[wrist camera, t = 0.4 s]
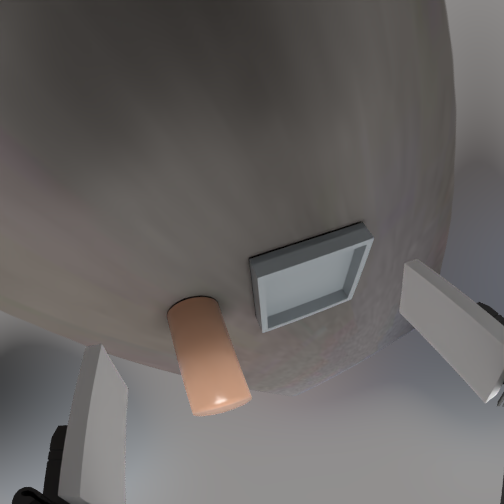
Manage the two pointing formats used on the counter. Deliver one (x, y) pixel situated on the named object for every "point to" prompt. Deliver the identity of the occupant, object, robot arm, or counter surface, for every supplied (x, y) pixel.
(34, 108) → the counter surface
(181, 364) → the light orange tall cylinder
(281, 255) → the grey tray
